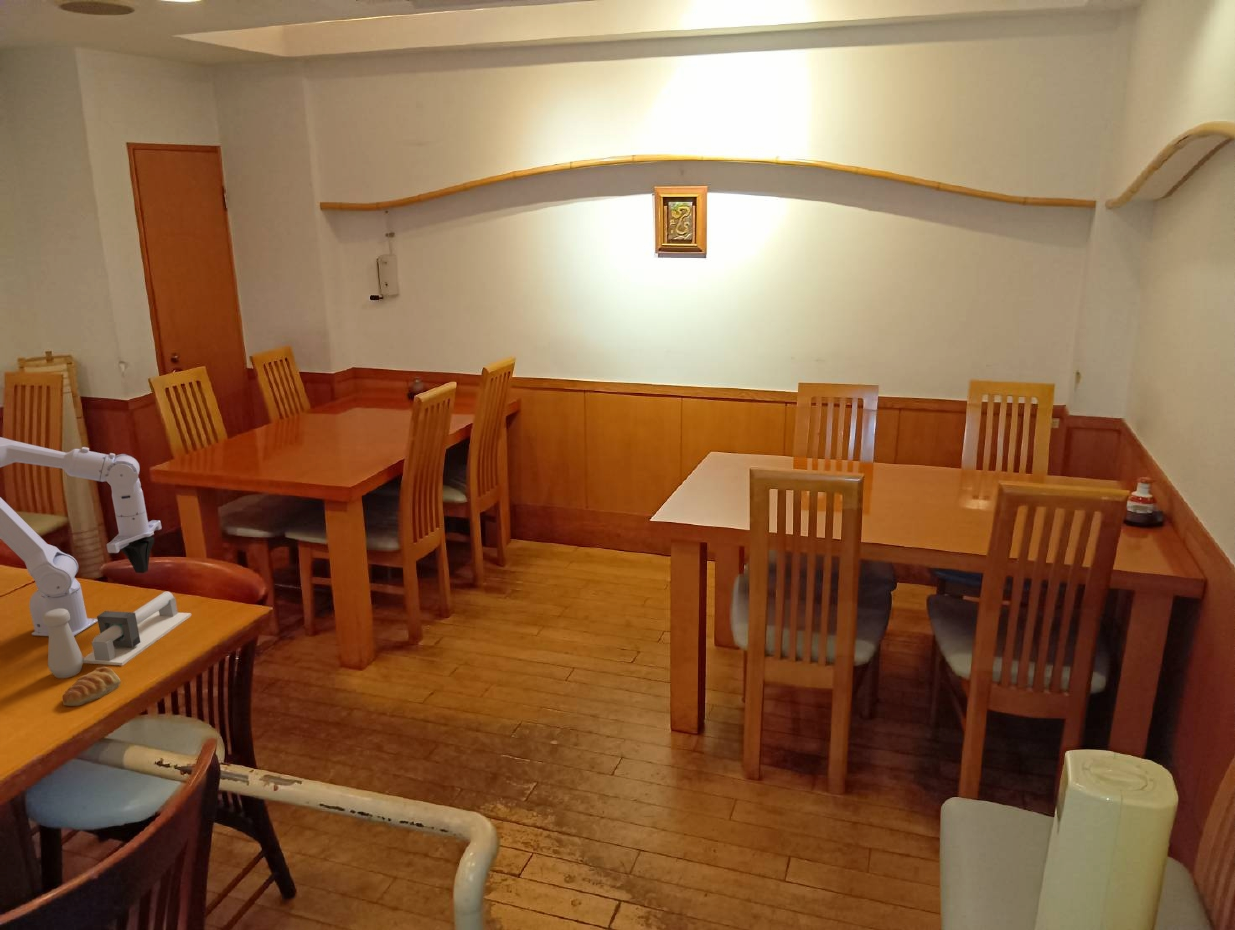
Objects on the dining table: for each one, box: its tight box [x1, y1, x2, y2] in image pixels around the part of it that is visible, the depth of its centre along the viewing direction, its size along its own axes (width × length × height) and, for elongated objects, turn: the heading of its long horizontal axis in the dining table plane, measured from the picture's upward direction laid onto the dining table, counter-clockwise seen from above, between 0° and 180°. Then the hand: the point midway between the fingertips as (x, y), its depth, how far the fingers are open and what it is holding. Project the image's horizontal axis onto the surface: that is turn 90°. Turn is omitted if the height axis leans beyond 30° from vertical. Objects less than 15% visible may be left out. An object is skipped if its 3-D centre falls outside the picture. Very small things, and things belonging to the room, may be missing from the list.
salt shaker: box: [43, 609, 84, 680], centre depth 165 cm, size 6×6×13 cm
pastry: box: [62, 666, 121, 707], centre depth 159 cm, size 9×7×4 cm
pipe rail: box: [83, 591, 192, 666], centre depth 180 cm, size 22×9×6 cm, turn 172°
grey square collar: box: [96, 610, 140, 648], centre depth 175 cm, size 2×7×7 cm, turn 82°
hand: (141, 571), depth 188 cm, fingers closed
